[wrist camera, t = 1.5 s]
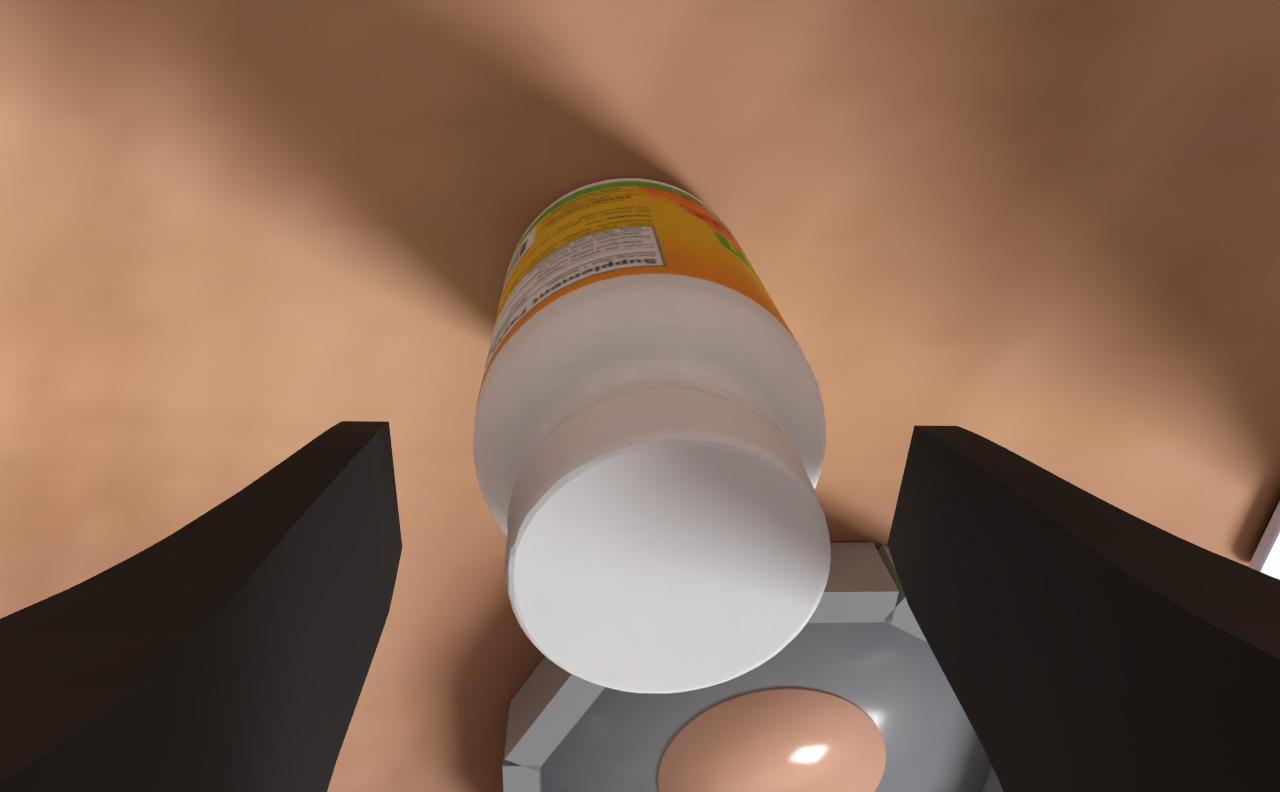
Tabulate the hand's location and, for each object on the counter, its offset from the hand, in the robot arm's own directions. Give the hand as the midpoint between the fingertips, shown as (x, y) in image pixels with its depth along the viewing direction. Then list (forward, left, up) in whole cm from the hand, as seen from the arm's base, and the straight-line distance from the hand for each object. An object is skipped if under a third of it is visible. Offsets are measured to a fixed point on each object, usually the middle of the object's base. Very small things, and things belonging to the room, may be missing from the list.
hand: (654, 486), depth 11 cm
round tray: (-5, +15, -8) cm, 18 cm away
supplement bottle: (0, 0, -8) cm, 8 cm away
